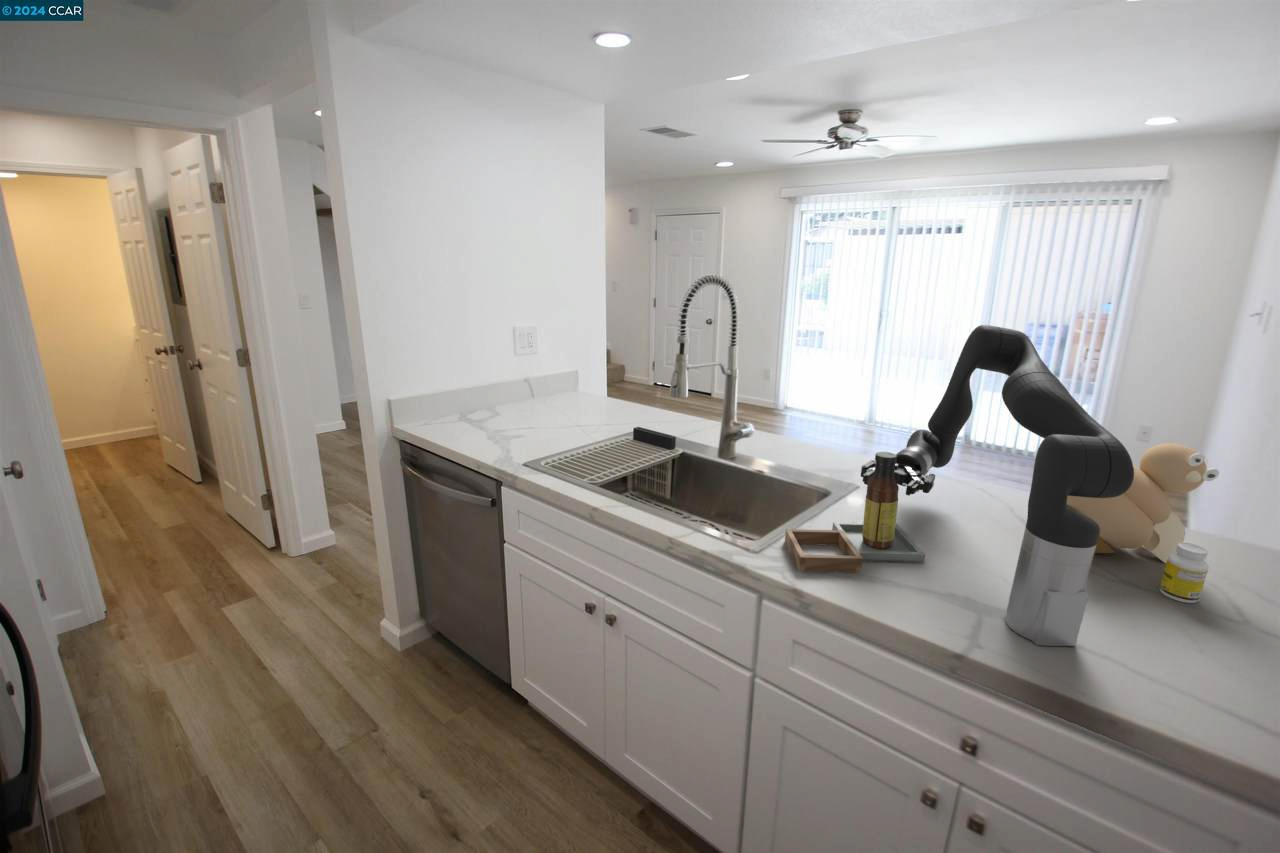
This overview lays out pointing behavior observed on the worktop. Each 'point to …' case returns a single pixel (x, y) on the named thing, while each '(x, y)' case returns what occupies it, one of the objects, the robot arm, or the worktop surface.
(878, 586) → the worktop surface
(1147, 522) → the chick figurine
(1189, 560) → the supplement bottle
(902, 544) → the tray
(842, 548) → the wooden frame
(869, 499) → the sauce bottle
